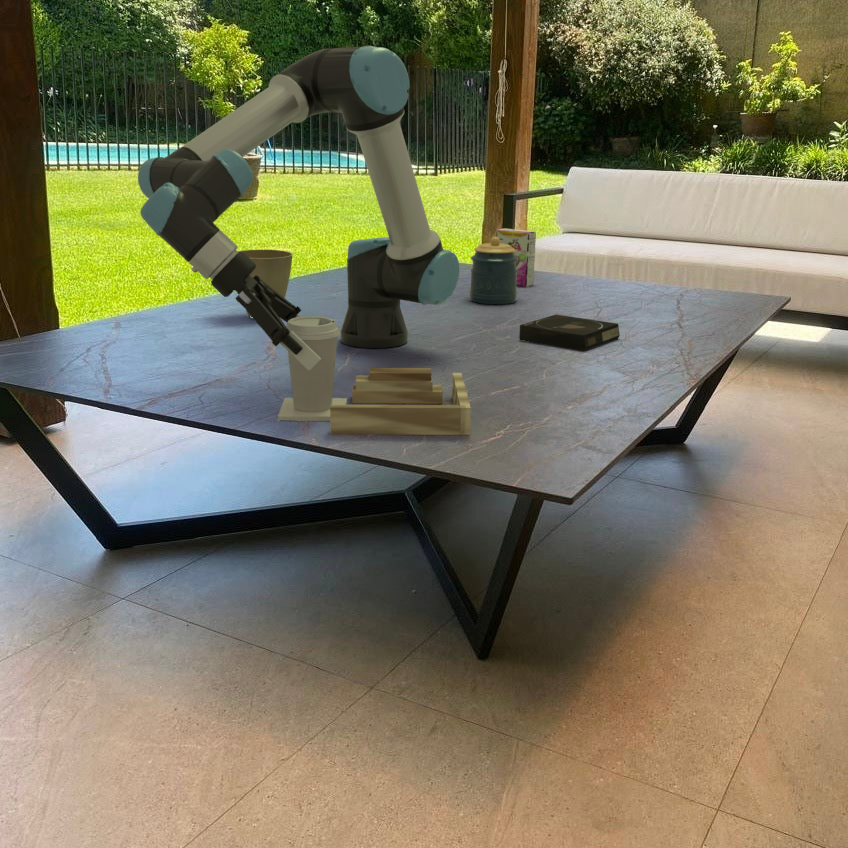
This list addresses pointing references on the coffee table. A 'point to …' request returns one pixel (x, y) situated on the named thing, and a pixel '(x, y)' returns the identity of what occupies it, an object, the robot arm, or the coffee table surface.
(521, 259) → the candy bar box
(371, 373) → the offcut stack
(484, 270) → the canister
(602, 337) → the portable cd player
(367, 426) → the frame
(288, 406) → the ceramic tile
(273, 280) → the plant pot
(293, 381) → the coffee cup
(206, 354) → the coffee table surface
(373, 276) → the robot arm
